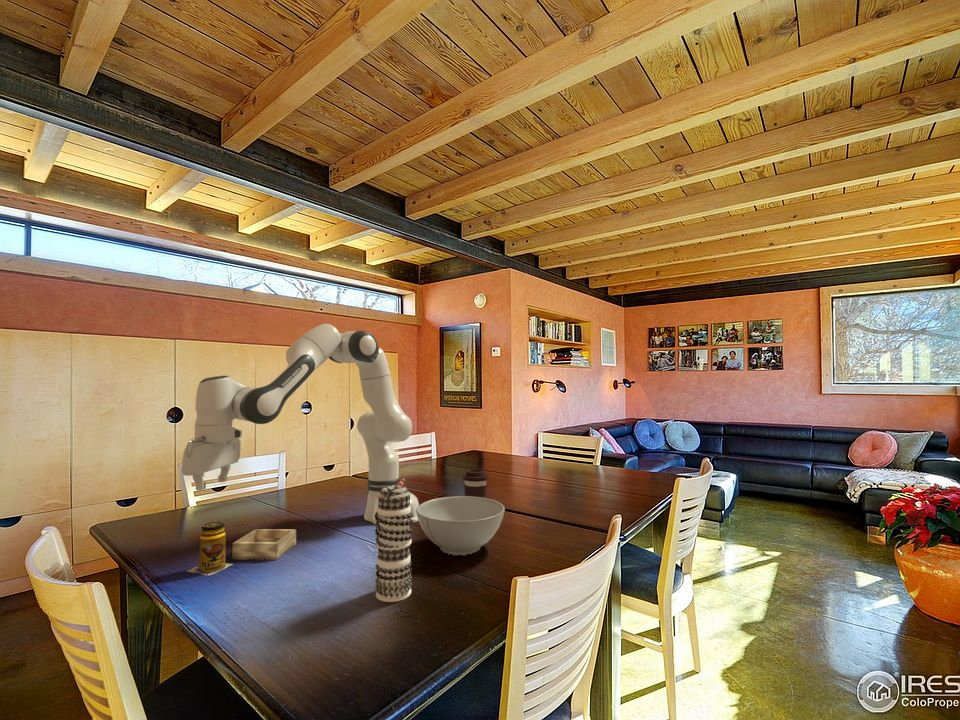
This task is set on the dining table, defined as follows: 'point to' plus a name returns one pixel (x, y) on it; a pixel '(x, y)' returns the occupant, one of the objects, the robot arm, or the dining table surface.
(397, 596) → the decorative candle
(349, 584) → the dining table surface
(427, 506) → the decorative bowl
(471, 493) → the coffee cup
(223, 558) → the condiment
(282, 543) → the caddy
